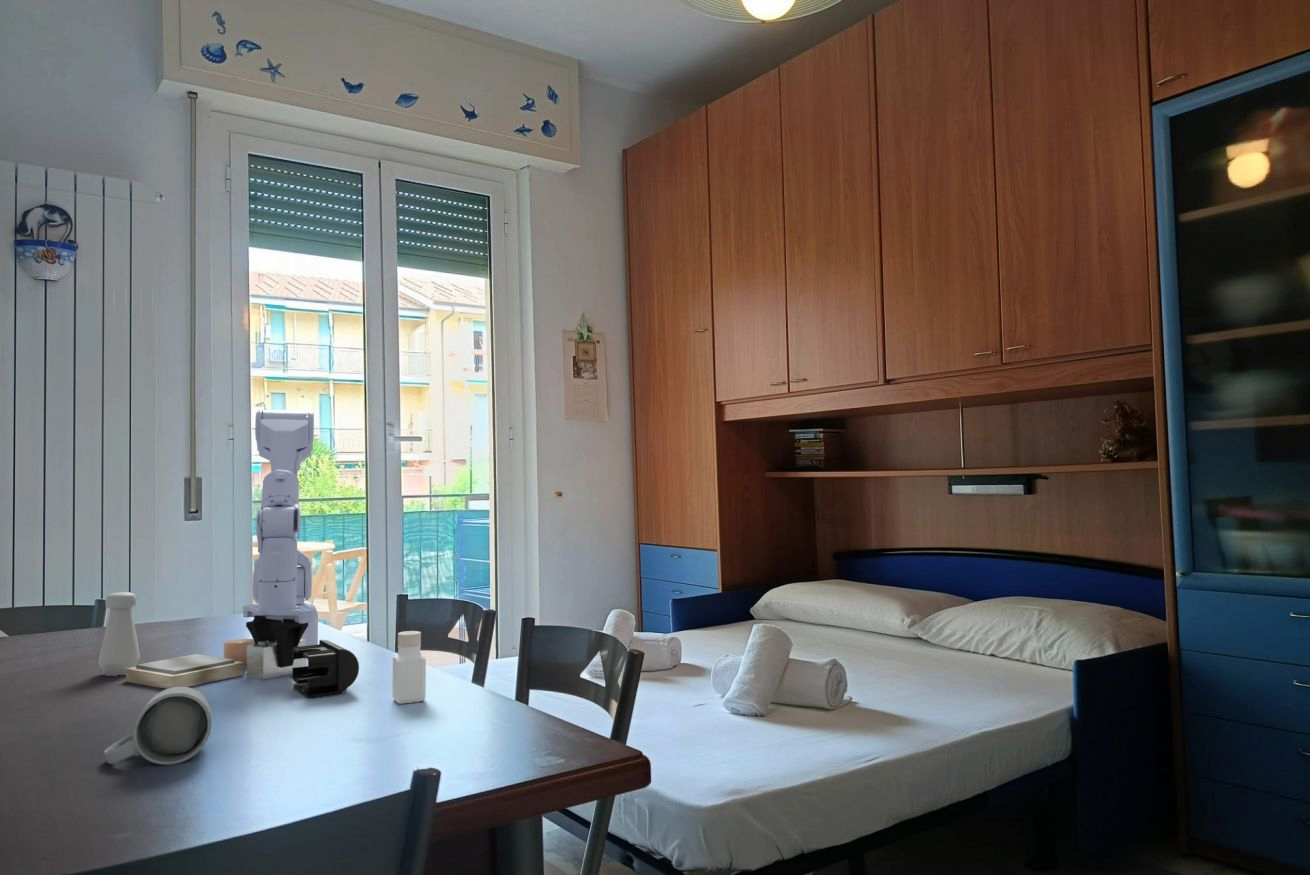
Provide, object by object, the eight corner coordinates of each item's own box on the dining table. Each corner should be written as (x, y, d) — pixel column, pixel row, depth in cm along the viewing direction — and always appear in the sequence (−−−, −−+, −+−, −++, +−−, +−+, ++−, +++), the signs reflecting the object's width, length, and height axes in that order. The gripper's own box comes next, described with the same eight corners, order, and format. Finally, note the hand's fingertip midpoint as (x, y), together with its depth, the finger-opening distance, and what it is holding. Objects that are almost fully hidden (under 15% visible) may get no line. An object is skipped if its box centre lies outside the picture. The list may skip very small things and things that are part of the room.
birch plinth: (197, 667, 151) (197, 652, 151) (243, 674, 145) (244, 659, 145) (125, 681, 141) (125, 665, 141) (172, 689, 135) (172, 673, 135)
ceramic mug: (211, 741, 108) (211, 676, 108) (211, 760, 101) (211, 690, 101) (108, 755, 103) (108, 687, 104) (100, 775, 96) (100, 702, 96)
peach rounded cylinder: (243, 661, 157) (243, 637, 157) (261, 663, 154) (262, 640, 155) (216, 666, 153) (217, 642, 153) (235, 669, 150) (236, 644, 150)
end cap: (359, 693, 133) (359, 646, 133) (309, 700, 128) (309, 652, 129) (339, 681, 141) (339, 637, 141) (291, 687, 137) (291, 642, 137)
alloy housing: (289, 668, 150) (289, 634, 151) (305, 670, 148) (305, 636, 149) (246, 677, 143) (247, 641, 144) (263, 680, 141) (263, 643, 142)
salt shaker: (125, 677, 144) (127, 595, 144) (89, 677, 144) (92, 595, 145) (146, 669, 150) (148, 590, 150) (112, 669, 150) (114, 590, 150)
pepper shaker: (391, 699, 128) (392, 631, 129) (420, 696, 130) (420, 629, 131) (397, 705, 125) (397, 636, 125) (426, 702, 127) (426, 633, 127)
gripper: (227, 580, 147) (225, 665, 146) (286, 585, 140) (285, 674, 139) (264, 576, 153) (263, 657, 152) (323, 580, 146) (322, 665, 145)
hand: (276, 665), depth 146 cm, fingers closed on alloy housing, 4 cm apart
